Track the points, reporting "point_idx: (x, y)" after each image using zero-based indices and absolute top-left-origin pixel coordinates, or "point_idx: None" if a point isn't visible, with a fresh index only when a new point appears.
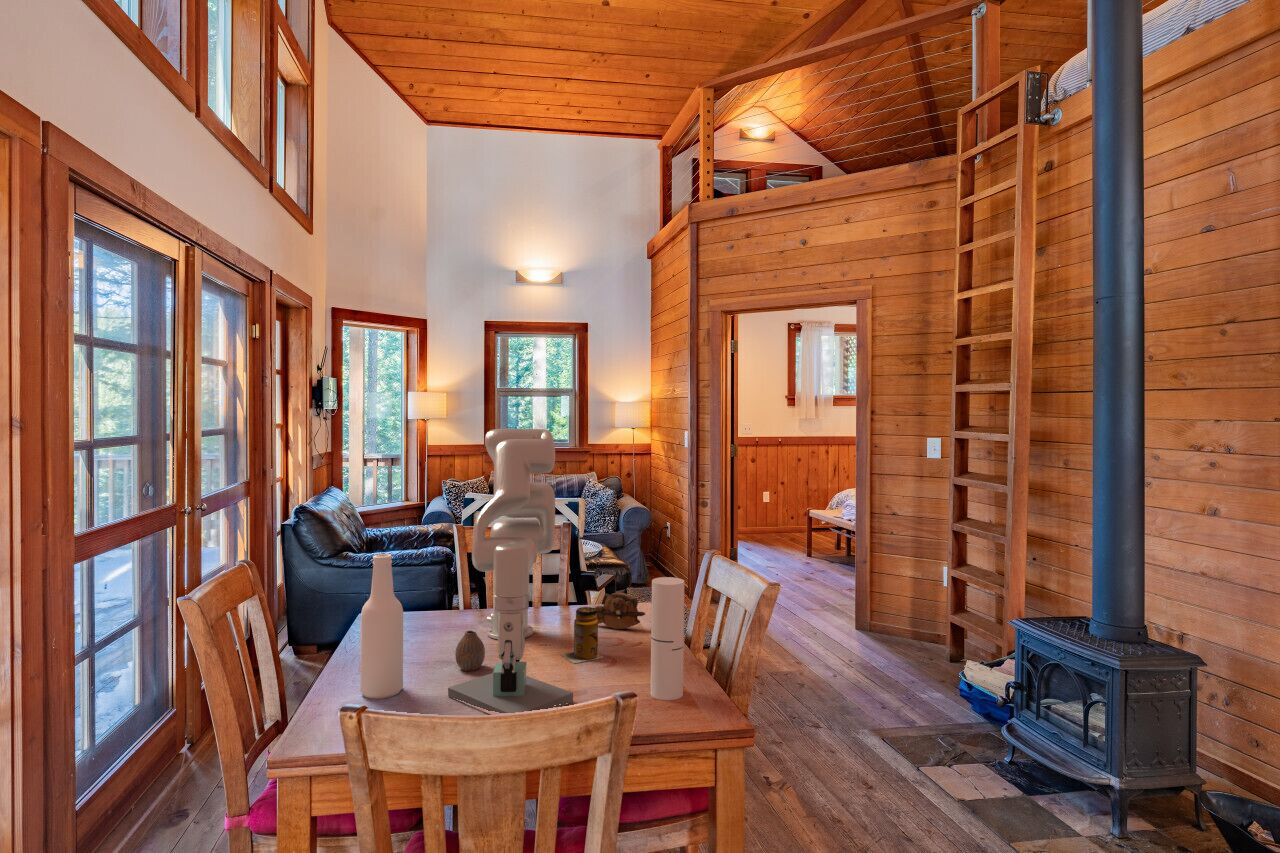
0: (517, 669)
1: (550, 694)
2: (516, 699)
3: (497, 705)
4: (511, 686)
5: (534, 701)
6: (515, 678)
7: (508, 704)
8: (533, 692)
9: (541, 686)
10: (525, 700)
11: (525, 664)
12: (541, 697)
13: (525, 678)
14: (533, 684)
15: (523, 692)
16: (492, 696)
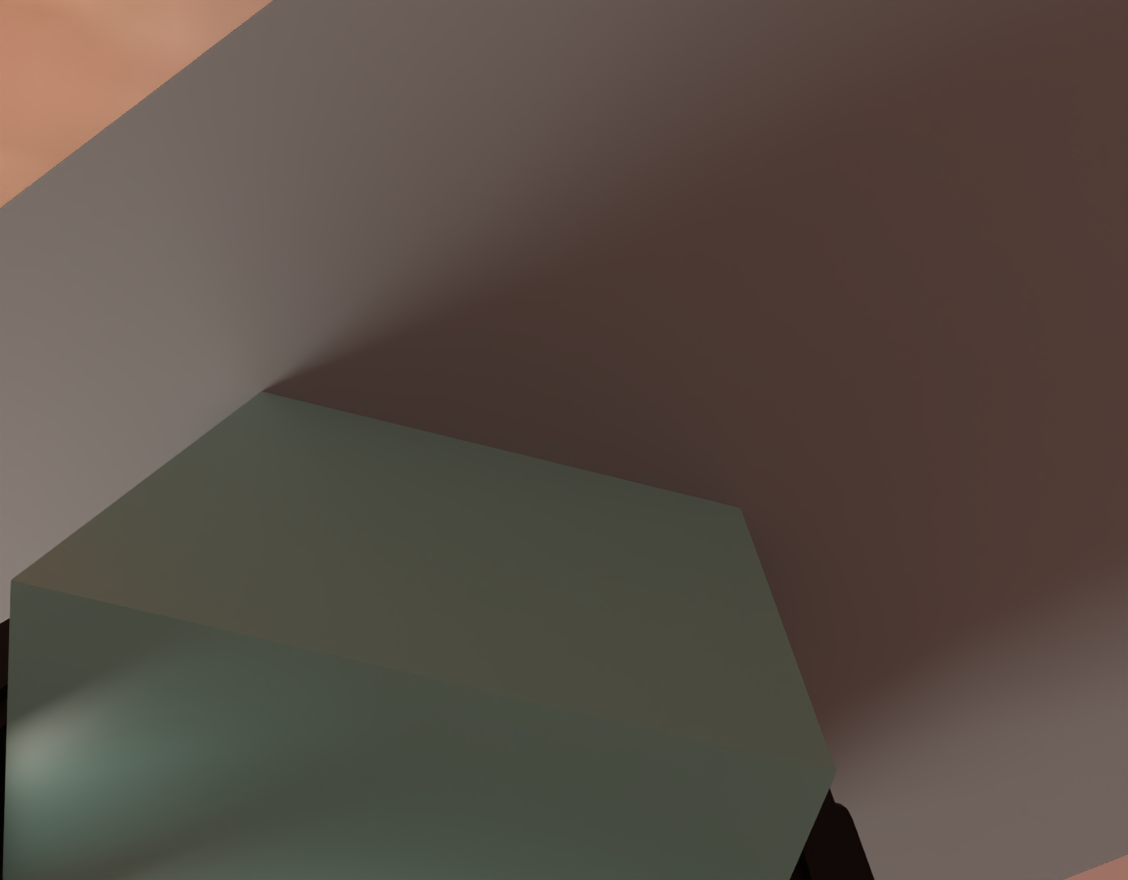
0: (588, 872)
1: (863, 50)
2: (854, 629)
3: (958, 868)
4: (854, 827)
5: (1052, 392)
6: (842, 859)
7: (987, 748)
8: (660, 340)
9: (411, 147)
10: (943, 515)
11: (247, 643)
12: (928, 245)
13: (396, 498)
14: (287, 273)
15: (747, 535)
16: None
